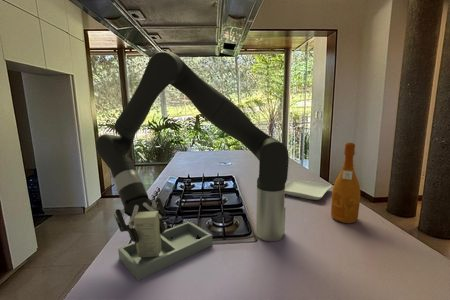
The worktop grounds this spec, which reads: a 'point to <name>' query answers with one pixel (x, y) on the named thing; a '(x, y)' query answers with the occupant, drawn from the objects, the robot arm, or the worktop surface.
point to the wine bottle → (346, 190)
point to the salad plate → (306, 189)
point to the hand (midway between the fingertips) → (150, 236)
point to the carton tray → (166, 250)
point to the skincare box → (148, 233)
